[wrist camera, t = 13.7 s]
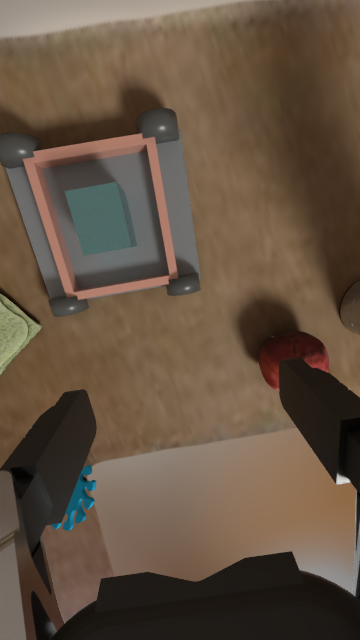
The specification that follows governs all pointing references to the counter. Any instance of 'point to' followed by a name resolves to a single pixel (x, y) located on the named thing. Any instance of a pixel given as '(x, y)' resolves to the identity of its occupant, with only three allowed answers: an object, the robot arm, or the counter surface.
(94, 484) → the gear
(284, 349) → the fruit
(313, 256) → the counter surface
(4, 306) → the washcloth
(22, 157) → the chassis
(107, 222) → the teal glassy cube
